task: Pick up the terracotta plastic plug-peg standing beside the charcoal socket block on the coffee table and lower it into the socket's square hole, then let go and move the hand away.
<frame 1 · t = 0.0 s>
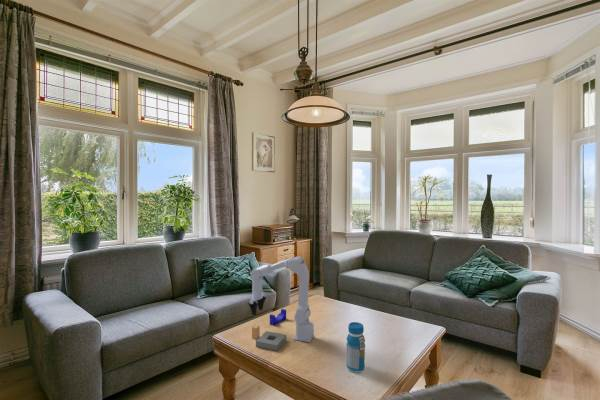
hand: (257, 312, 181), 10 cm above the table, tool pointing down, fingers open, 7 cm apart
beverage bottle: (355, 368, 142), on the table
socket block: (271, 343, 165), on the table
cable clip: (277, 322, 192), on the table
plug peg: (255, 337, 171), on the table
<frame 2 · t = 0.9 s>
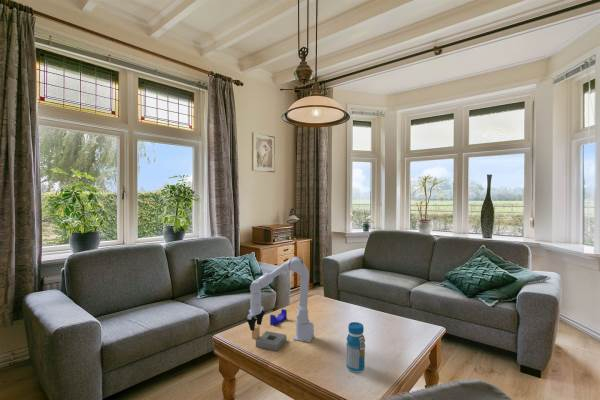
hand: (255, 327, 171), 5 cm above the table, tool pointing down, fingers open, 7 cm apart
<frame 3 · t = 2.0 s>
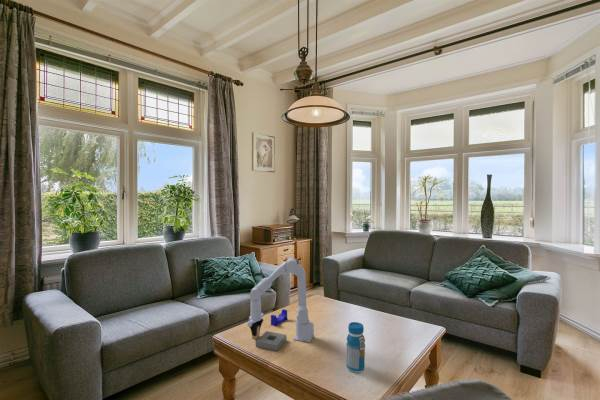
hand: (255, 334, 171), 2 cm above the table, tool pointing down, fingers closed on plug peg, 3 cm apart
plug peg: (255, 337, 171), on the table, touching gripper
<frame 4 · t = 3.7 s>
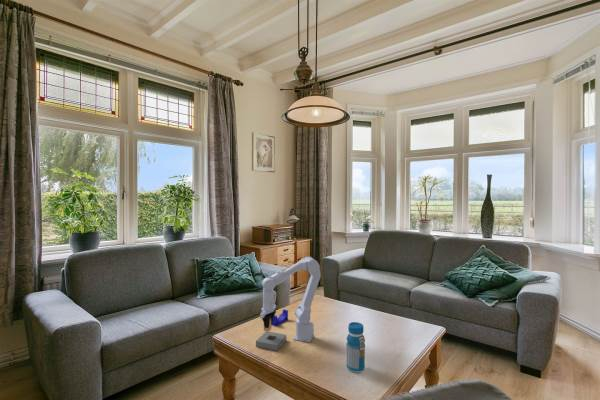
hand: (268, 326, 166), 9 cm above the table, tool pointing down, fingers closed on plug peg, 3 cm apart
plug peg: (267, 329, 166), point 7 cm above the table, touching gripper
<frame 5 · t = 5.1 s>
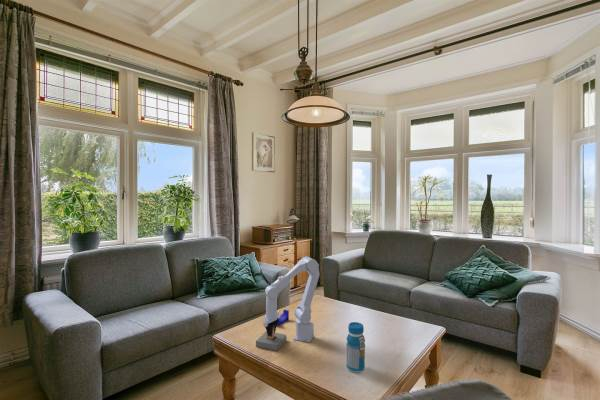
hand: (271, 334, 164), 5 cm above the table, tool pointing down, fingers closed on plug peg, 3 cm apart
plug peg: (270, 338, 165), point 3 cm above the table, touching gripper
when the fingers open (4 cm above the table, at t = 5.7 s): plug peg drops 2 cm, resting in socket block.
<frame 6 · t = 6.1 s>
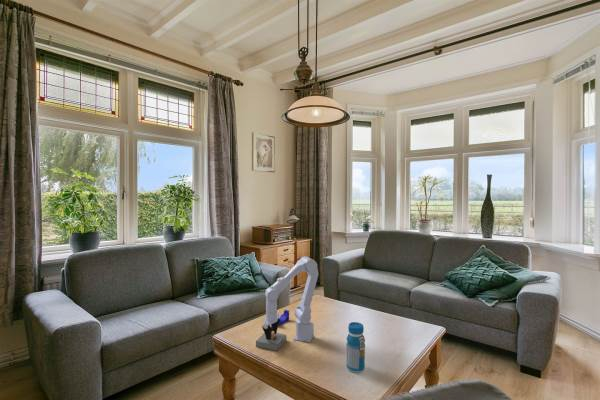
hand: (271, 336, 164), 4 cm above the table, tool pointing down, fingers open, 6 cm apart
plug peg: (270, 343, 165), resting in socket block
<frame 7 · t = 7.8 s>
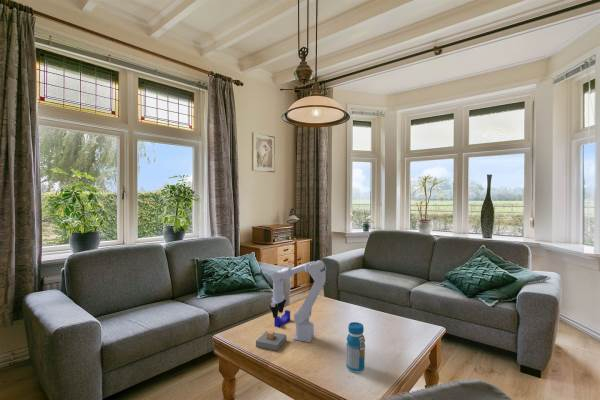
hand: (278, 315, 178), 9 cm above the table, tool pointing down, fingers open, 7 cm apart
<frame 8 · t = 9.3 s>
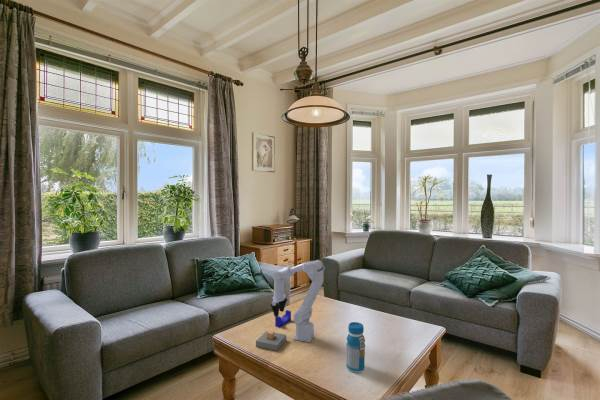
hand: (279, 313, 180), 9 cm above the table, tool pointing down, fingers open, 7 cm apart
at the end: plug peg 0.5 cm off-centre on the socket block, point 0.0 cm above the socket block's base; plug peg tilted 0°; the gripper is holding nothing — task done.
